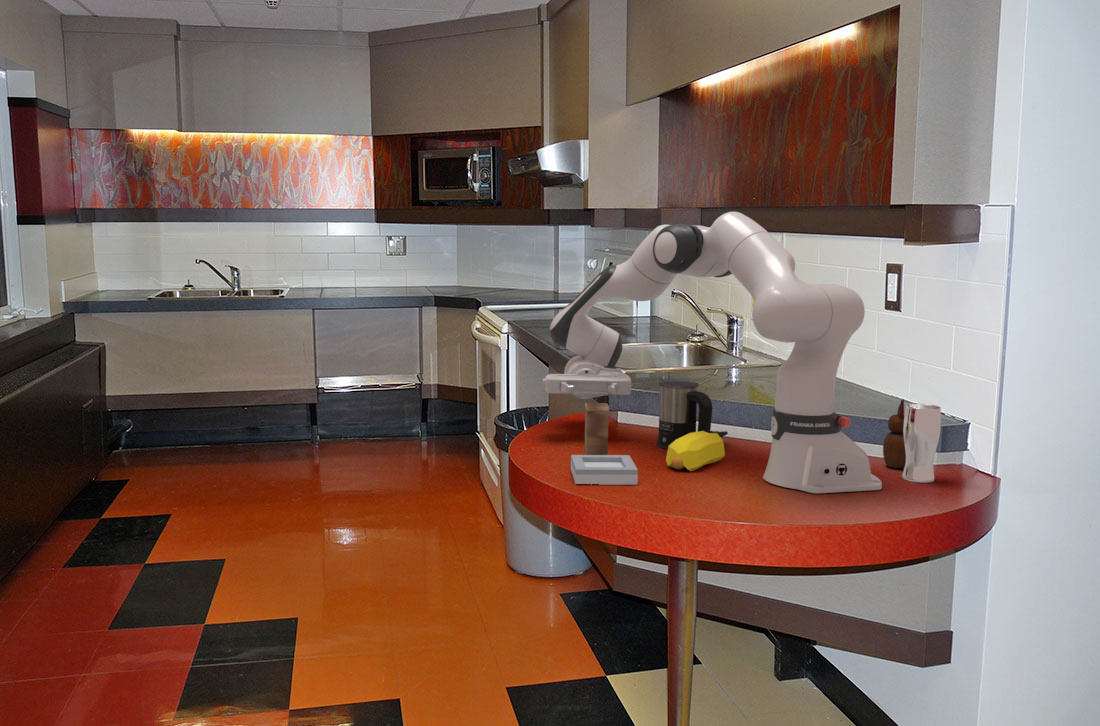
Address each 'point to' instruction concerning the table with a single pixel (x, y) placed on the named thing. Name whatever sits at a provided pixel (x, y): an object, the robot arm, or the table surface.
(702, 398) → the milk frother
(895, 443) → the wooden figurine
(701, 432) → the hot dog
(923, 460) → the beer glass
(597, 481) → the plinth base
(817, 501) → the table surface
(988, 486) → the table surface
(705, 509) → the table surface
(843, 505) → the table surface
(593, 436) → the column block
